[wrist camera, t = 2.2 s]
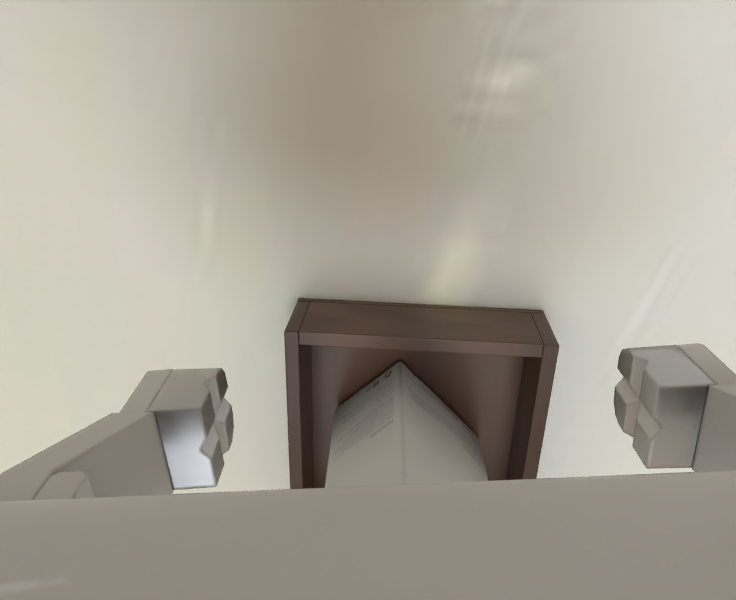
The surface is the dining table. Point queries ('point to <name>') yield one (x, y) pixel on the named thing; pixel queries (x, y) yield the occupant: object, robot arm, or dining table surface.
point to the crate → (421, 374)
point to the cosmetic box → (400, 437)
